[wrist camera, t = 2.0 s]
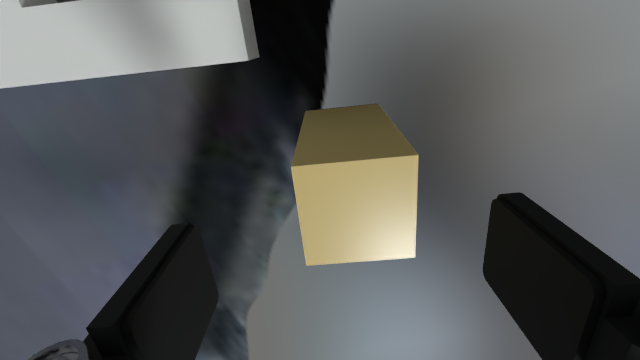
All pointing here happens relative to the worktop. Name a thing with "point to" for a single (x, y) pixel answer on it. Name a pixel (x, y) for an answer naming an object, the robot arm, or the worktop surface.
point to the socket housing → (119, 37)
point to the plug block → (355, 186)
